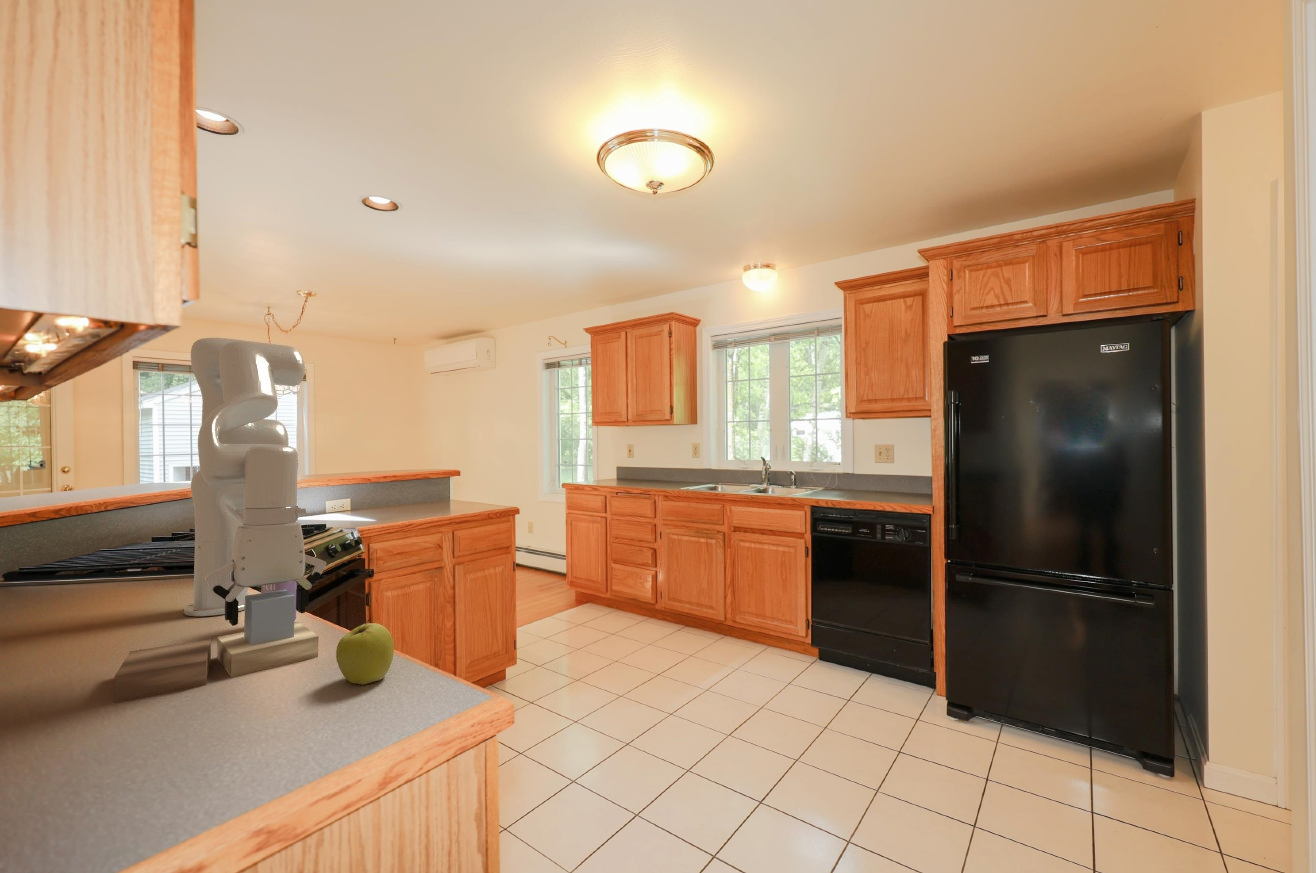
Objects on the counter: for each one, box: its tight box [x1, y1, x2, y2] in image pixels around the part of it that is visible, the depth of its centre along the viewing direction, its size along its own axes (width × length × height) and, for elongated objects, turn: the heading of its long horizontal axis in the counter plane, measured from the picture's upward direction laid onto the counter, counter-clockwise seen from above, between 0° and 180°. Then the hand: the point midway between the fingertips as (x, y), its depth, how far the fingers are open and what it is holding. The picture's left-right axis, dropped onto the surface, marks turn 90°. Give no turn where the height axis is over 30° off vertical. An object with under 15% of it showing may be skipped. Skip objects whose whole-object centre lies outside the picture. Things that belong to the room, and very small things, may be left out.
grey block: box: [243, 590, 295, 645], centre depth 96 cm, size 6×6×7 cm
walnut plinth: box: [113, 638, 212, 703], centre depth 86 cm, size 12×10×4 cm
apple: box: [335, 617, 395, 685], centre depth 86 cm, size 8×8×10 cm
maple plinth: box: [216, 621, 320, 678], centre depth 96 cm, size 12×12×4 cm
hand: (268, 617), depth 96 cm, fingers open, 9 cm apart
